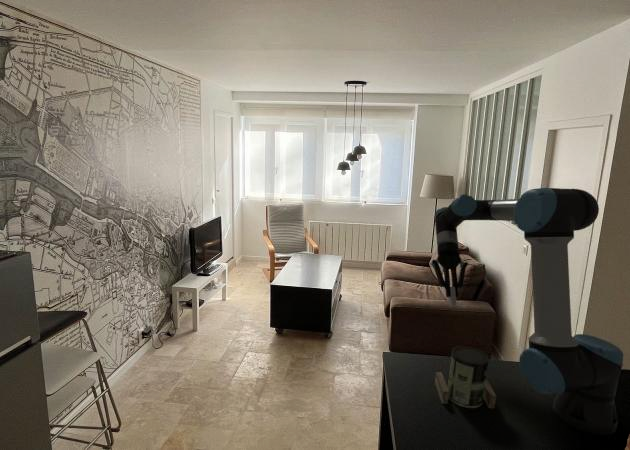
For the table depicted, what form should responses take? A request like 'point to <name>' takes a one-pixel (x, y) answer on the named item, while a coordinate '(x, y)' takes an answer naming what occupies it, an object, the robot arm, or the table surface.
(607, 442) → the table surface
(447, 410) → the table surface
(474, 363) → the coffee can
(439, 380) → the chute
